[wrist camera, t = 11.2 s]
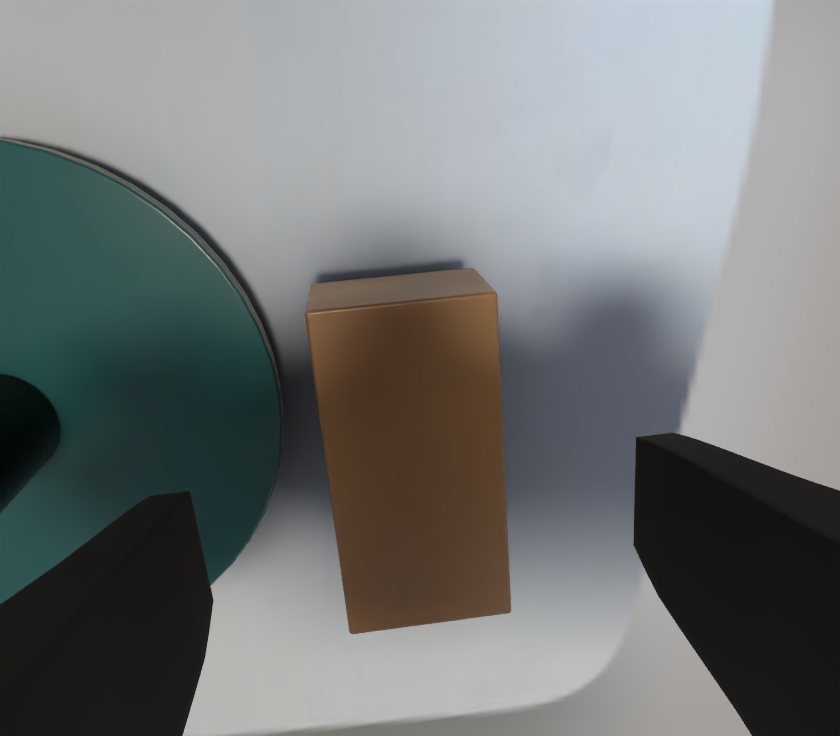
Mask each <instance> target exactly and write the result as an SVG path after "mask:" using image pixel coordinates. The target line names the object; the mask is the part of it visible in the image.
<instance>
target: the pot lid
mask: <svg viewBox="0 0 840 736" xmlns="http://www.w3.org/2000/svg"><path fill="white" fill-rule="evenodd" d="M283 424H284V414H283V403H282V391H281V384H280V380H279V375H278V371H277V367H276V362H275V358H274V354H273V351H272V349H271V346H270V344H269V341H268V338H267V336H266V333H265V330H264V328H263V325H262V323H261V321H260V319H259V317H258V315H257V313H256V311H255V310H254V308H253V306H252V304H251V302H250V300H249V298H248V296H247V295H246V293H245V291H244V290H243V288H242V287H241V285H240V284H239V283H238V281H237V280H236V278H235V277H234V276H233V274H232V273H231V271H230V270H229V269H228V267H227V266H226V264H225V263H224V262H223V260H222V259H221V258H220V257H219V256H218V255H217V254H216V253H215V252H214V251H213V250H212V248H211V247H210V246H209V245H208V244H207V243H206V242H205V241H204V240H203V239H202V238H201V236H200V235H199V234H198V233H197V232H196V231H194V230H193V229H192V228H191V227H190V226H189V225H187V224H186V223H185V222H184V221H183V220H182V219H180V218H179V217H178V216H177V215H176V214H175V213H173V212H172V211H171V210H170V209H169V208H168V207H166V206H165V205H163V204H162V203H160V202H159V201H157V200H156V199H154V198H153V197H151V196H150V195H148V194H147V193H145V192H144V191H142V190H141V189H139V188H138V187H136V186H135V185H133V184H132V183H130V182H128V181H126V180H124V179H122V178H120V177H118V176H116V175H114V174H112V173H110V172H108V171H106V170H104V169H102V168H101V167H99V166H97V165H95V164H92V163H89V162H86V161H84V160H81V159H78V158H76V157H73V156H70V155H68V154H65V153H62V152H59V151H57V150H53V149H49V148H45V147H41V146H37V145H33V144H28V143H24V142H20V141H16V140H10V139H1V138H0V604H1V603H3V602H4V601H6V600H7V599H9V598H10V597H12V596H13V595H14V594H16V593H17V592H19V591H20V590H21V589H23V588H24V587H26V586H27V585H29V584H30V583H31V582H33V581H34V580H36V579H37V578H39V577H40V576H41V575H43V574H44V573H46V572H47V571H48V570H50V569H51V568H53V567H54V566H56V565H57V564H58V563H60V562H61V561H62V560H64V559H65V558H66V557H68V556H69V555H70V554H72V553H73V552H74V551H76V550H77V549H78V548H80V547H81V546H82V545H83V544H85V543H86V542H87V541H89V540H90V539H91V538H93V537H94V536H95V535H97V534H98V533H99V532H100V531H102V530H103V529H104V528H106V527H107V526H108V525H110V524H111V523H112V522H113V521H115V520H116V519H117V518H119V517H120V516H121V515H123V514H124V513H125V512H127V511H128V510H129V509H131V508H132V507H134V506H135V505H136V504H138V503H139V502H141V501H142V500H144V499H146V498H147V497H149V496H153V495H161V494H169V493H177V492H186V491H190V494H191V498H192V503H193V508H194V512H195V517H196V522H197V526H198V531H199V536H200V540H201V545H202V550H203V554H204V559H205V564H206V569H207V573H208V578H209V583H210V585H212V584H213V583H214V582H215V581H216V580H217V579H218V578H219V577H220V576H221V575H222V574H223V573H224V572H225V571H226V570H227V569H228V567H229V566H230V565H231V564H232V563H233V562H234V561H235V559H236V558H237V557H238V555H239V554H240V553H241V551H242V550H243V549H244V547H245V546H246V545H247V543H248V542H249V541H250V539H251V537H252V535H253V534H254V532H255V530H256V528H257V526H258V524H259V523H260V521H261V519H262V517H263V515H264V513H265V510H266V508H267V505H268V502H269V499H270V497H271V494H272V491H273V489H274V486H275V481H276V476H277V471H278V466H279V462H280V457H281V452H282V442H283Z"/></svg>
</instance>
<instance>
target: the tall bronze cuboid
mask: <svg viewBox="0 0 840 736" xmlns="http://www.w3.org/2000/svg"><path fill="white" fill-rule="evenodd" d="M305 317H306V324H307V331H308V338H309V345H310V352H311V360H312V367H313V374H314V381H315V388H316V396H317V403H318V410H319V417H320V424H321V432H322V439H323V446H324V453H325V460H326V468H327V475H328V482H329V489H330V496H331V504H332V511H333V518H334V525H335V532H336V539H337V547H338V554H339V561H340V568H341V575H342V583H343V590H344V597H345V604H346V611H347V619H348V626H349V632H350V633H351V634H357V633H364V632H372V631H379V630H387V629H394V628H402V627H409V626H416V625H424V624H431V623H439V622H446V621H454V620H461V619H468V618H476V617H483V616H491V615H498V614H506V613H510V612H511V596H510V574H509V552H508V530H507V507H506V485H505V463H504V441H503V419H502V396H501V374H500V352H499V330H498V308H497V294H496V292H495V291H494V290H493V288H492V287H491V286H490V285H489V284H488V283H487V282H486V281H485V280H484V279H483V278H482V277H481V275H480V274H479V273H478V272H477V271H476V270H475V269H474V268H466V269H456V270H442V271H432V272H422V273H412V274H402V275H392V276H382V277H372V278H362V279H352V280H342V281H332V282H326V283H316V284H312V285H311V290H310V294H309V299H308V303H307V308H306V313H305Z"/></svg>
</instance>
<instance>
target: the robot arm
mask: <svg viewBox="0 0 840 736" xmlns="http://www.w3.org/2000/svg"><path fill="white" fill-rule="evenodd" d="M634 547H635V549H636V551H637V553H638V555H639V558H640V560H641V562H642V564H643V566H644V568H645V570H646V573H647V575H648V577H649V578H650V580H651V582H652V584H653V586H654V588H655V590H656V592H657V594H658V596H659V598H660V599H661V601H662V602H663V604H664V605H665V607H666V608H667V610H668V611H669V613H670V614H671V616H672V617H673V619H674V620H675V622H676V623H677V625H678V626H679V628H680V629H681V631H682V632H683V633H684V635H685V637H686V638H687V640H688V641H689V642H690V644H691V645H692V647H693V648H694V650H695V651H696V653H697V654H698V656H699V657H700V658H701V660H702V661H703V663H704V664H705V666H706V667H707V669H708V670H709V671H710V673H711V674H712V676H713V677H714V679H715V680H716V682H717V683H718V685H719V686H720V688H721V689H722V691H723V692H724V693H725V695H726V696H727V698H728V699H729V701H730V702H731V704H732V705H733V706H734V708H735V709H736V711H737V713H738V714H739V716H740V717H741V719H742V721H743V722H744V724H745V725H746V727H747V728H748V730H749V731H750V733H751V735H752V736H840V491H839V490H836V489H833V488H830V487H827V486H823V485H820V484H817V483H814V482H811V481H808V480H806V479H803V478H800V477H797V476H794V475H791V474H789V473H786V472H783V471H780V470H778V469H775V468H773V467H770V466H767V465H764V464H762V463H759V462H756V461H754V460H751V459H748V458H746V457H743V456H741V455H738V454H735V453H733V452H730V451H727V450H725V449H722V448H719V447H716V446H714V445H711V444H708V443H705V442H703V441H700V440H697V439H693V438H690V437H687V436H684V435H680V434H675V433H667V434H659V435H651V436H642V437H636V465H635V506H634ZM212 606H213V597H212V592H211V587H210V583H209V578H208V573H207V569H206V564H205V559H204V554H203V550H202V545H201V540H200V536H199V531H198V526H197V522H196V517H195V512H194V508H193V503H192V498H191V494H190V491H186V492H177V493H169V494H161V495H153V496H149V497H147V498H146V499H144V500H142V501H141V502H139V503H138V504H136V505H135V506H134V507H132V508H131V509H129V510H128V511H127V512H125V513H124V514H123V515H121V516H120V517H119V518H117V519H116V520H115V521H113V522H112V523H111V524H110V525H108V526H107V527H106V528H104V529H103V530H102V531H100V532H99V533H98V534H97V535H95V536H94V537H93V538H91V539H90V540H89V541H87V542H86V543H85V544H83V545H82V546H81V547H80V548H78V549H77V550H76V551H74V552H73V553H72V554H70V555H69V556H68V557H66V558H65V559H64V560H62V561H61V562H60V563H58V564H57V565H56V566H54V567H53V568H51V569H50V570H48V571H47V572H46V573H44V574H43V575H41V576H40V577H39V578H37V579H36V580H34V581H33V582H31V583H30V584H29V585H27V586H26V587H24V588H23V589H21V590H20V591H19V592H17V593H16V594H14V595H13V596H12V597H10V598H9V599H7V600H6V601H4V602H3V603H1V604H0V736H182V735H183V732H184V729H185V725H186V722H187V718H188V715H189V712H190V708H191V705H192V701H193V698H194V695H195V691H196V688H197V684H198V681H199V677H200V674H201V670H202V666H203V663H204V659H205V654H206V648H207V641H208V635H209V628H210V621H211V614H212Z"/></svg>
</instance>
